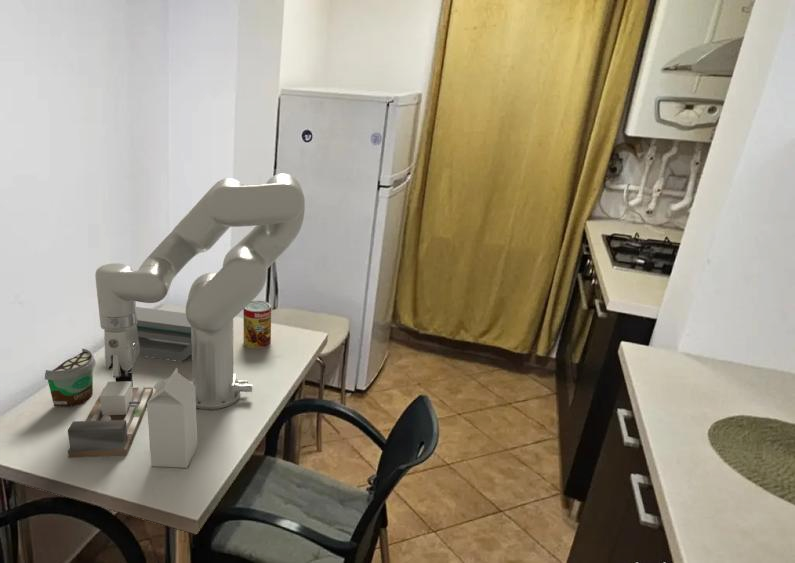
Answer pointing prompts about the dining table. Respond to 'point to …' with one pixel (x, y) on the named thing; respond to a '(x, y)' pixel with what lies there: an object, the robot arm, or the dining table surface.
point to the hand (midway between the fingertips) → (124, 388)
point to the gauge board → (108, 429)
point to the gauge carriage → (117, 398)
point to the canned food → (257, 324)
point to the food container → (72, 380)
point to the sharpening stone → (163, 334)
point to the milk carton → (172, 422)
